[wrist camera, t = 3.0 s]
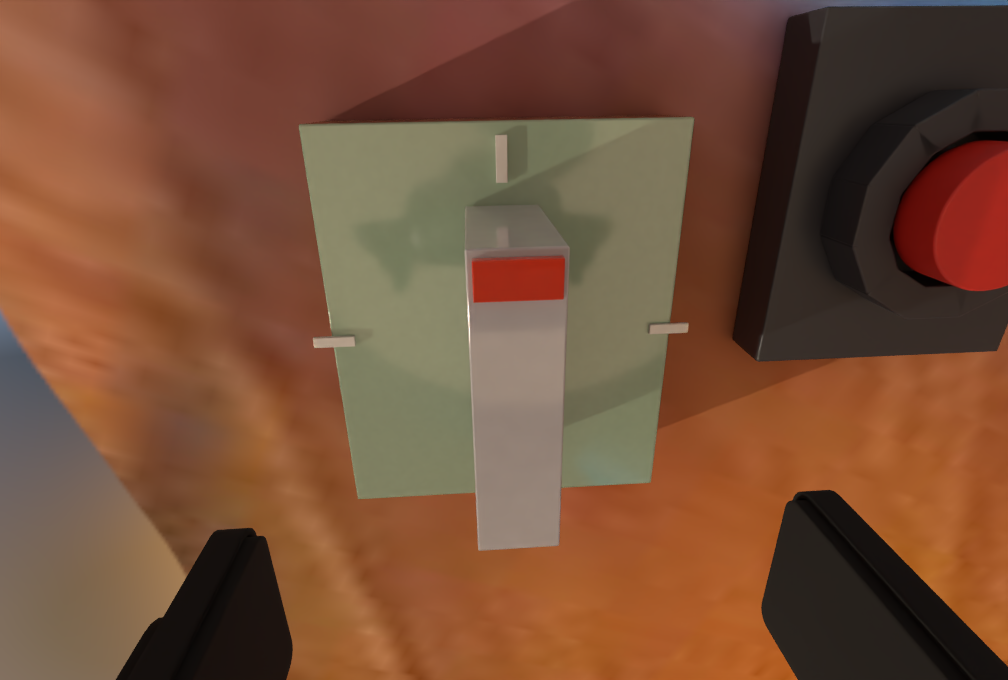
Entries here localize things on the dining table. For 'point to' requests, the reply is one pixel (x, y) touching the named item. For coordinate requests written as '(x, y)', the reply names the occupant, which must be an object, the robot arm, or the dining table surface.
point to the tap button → (958, 218)
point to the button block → (868, 182)
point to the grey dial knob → (516, 371)
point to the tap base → (442, 282)
